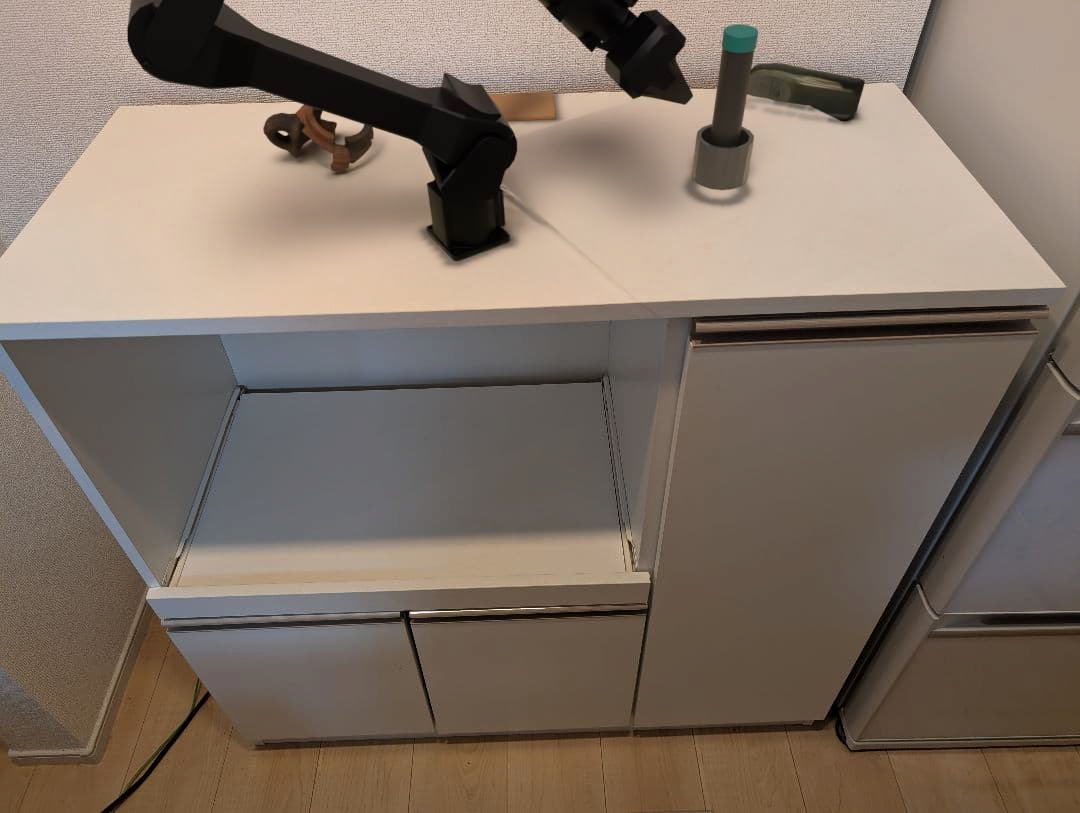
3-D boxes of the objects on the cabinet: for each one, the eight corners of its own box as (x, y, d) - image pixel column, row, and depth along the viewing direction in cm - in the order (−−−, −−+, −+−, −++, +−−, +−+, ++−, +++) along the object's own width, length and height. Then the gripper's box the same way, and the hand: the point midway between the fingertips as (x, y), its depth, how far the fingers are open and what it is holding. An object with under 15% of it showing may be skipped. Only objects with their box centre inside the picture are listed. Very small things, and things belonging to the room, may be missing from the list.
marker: (717, 186, 84) (739, 39, 73) (698, 173, 86) (716, 29, 75) (740, 177, 85) (765, 32, 75) (720, 165, 87) (742, 21, 76)
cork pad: (483, 122, 99) (483, 118, 99) (483, 97, 104) (483, 94, 104) (555, 118, 99) (555, 115, 99) (552, 94, 104) (552, 91, 104)
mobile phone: (867, 74, 95) (741, 55, 99) (864, 84, 93) (736, 65, 97) (855, 114, 98) (734, 94, 102) (852, 125, 96) (729, 104, 100)
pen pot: (714, 208, 84) (722, 155, 80) (679, 184, 87) (685, 132, 83) (756, 191, 86) (765, 139, 82) (720, 169, 89) (727, 118, 85)
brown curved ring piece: (355, 131, 99) (368, 82, 92) (373, 194, 96) (388, 149, 89) (254, 128, 93) (260, 77, 87) (270, 196, 91) (277, 148, 84)
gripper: (673, -90, 57) (782, 46, 67) (584, -144, 69) (687, -23, 79) (569, 40, 61) (686, 149, 71) (502, -34, 74) (610, 68, 84)
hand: (668, 79), depth 76 cm, fingers open, 9 cm apart
